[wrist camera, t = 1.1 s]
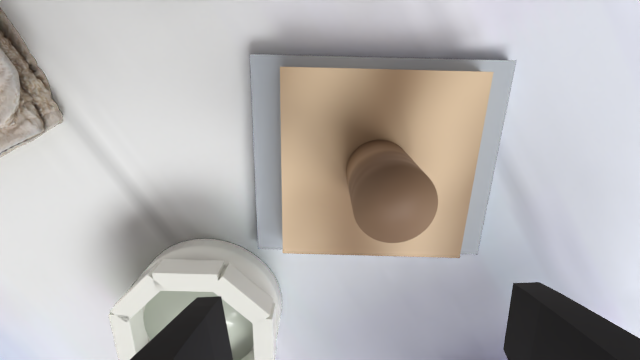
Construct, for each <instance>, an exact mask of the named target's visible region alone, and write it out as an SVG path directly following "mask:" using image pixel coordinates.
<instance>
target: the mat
mask: <svg viewBox="0 0 640 360" xmlns="http://www.w3.org/2000/svg"><path fill="white" fill-rule="evenodd" d="M515 65H516V60H474V59H433V58H391V57H350V56H308V55H267V54H250V72H251V95H252V119H253V142H254V165H255V189H256V212H257V235H258V249H283V239H282V174H281V110H280V67H320V68H361V69H403V70H444V71H483V72H494V73H493V78H492V83H491V89H490V94H489V100H488V105H487V111H486V116H485V122H484V127H483V133H482V138H481V144H480V149H479V155H478V160H477V165H476V171H475V176H474V182H473V187H472V193H471V198H470V204H469V209H468V215H467V220H466V226H465V231H464V237H463V242H462V248H461V253H460V254H475V255H477V254H478V249H479V244H480V239H481V234H482V229H483V224H484V219H485V214H486V209H487V204H488V199H489V194H490V189H491V184H492V179H493V174H494V169H495V164H496V159H497V154H498V150H499V145H500V140H501V135H502V130H503V125H504V120H505V115H506V110H507V105H508V100H509V95H510V90H511V85H512V80H513V75H514V70H515Z"/></svg>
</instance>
